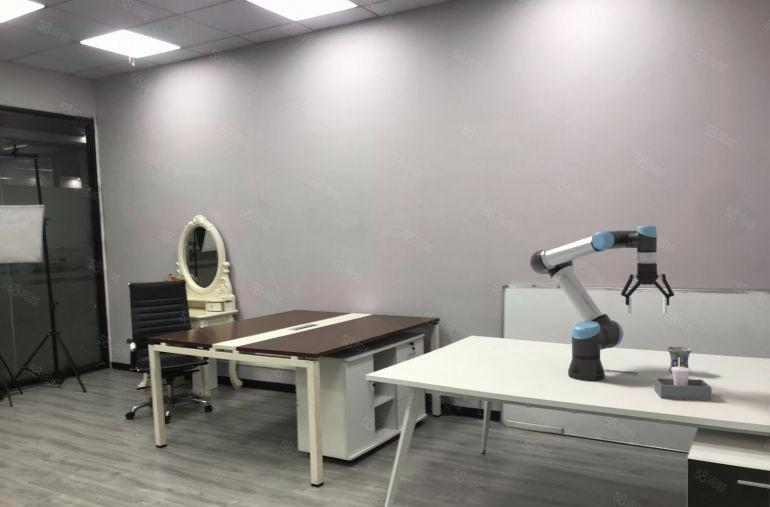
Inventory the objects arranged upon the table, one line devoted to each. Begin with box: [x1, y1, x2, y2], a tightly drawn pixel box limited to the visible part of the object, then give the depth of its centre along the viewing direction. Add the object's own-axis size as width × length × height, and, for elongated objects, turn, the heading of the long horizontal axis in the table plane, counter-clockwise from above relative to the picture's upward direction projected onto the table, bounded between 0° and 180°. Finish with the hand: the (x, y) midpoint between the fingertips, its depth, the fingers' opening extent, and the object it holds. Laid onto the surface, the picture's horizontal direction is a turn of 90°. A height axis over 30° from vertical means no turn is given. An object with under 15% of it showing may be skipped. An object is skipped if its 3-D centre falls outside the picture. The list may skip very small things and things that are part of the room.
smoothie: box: [671, 357, 691, 386], centre depth 213 cm, size 6×6×14 cm
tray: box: [653, 377, 712, 401], centre depth 213 cm, size 17×10×5 cm, turn 77°
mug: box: [667, 346, 692, 373], centre depth 246 cm, size 12×9×11 cm
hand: (647, 313), depth 233 cm, fingers open, 13 cm apart
